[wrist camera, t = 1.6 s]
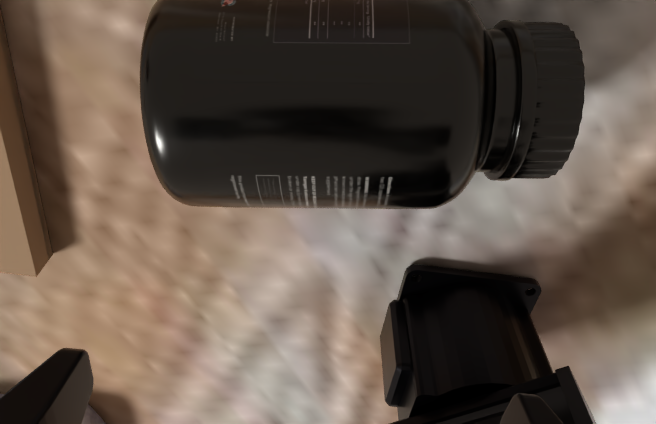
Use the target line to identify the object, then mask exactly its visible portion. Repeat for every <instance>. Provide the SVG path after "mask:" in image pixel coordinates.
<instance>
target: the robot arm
mask: <svg viewBox="0 0 656 424" xmlns="http://www.w3.org/2000/svg"><path fill="white" fill-rule="evenodd" d="M414 274H419V276H416V277H414V276H412V275H414ZM529 288H532V289H530V290H527V289H529ZM540 293H541V288H540V286H539V283H538V281H536V280H535V279H532V278H524V277H516V276H507V275H499V274H491V273H483V272H475V271H466V270H458V269H450V268H442V267H434V266H425V265H411V266H409V267H408V268H407V269H406V271H405V273H404V277H403V280H402V284H401V287H400V291H399V294H398V298H397V300H393V301H392V302H391V303H390V304H389V307H388V310H387V314H386V317H385V321H384V325H383V328H382V332H381V335H380V342H381V355H382V368H383V382H384V395H385V401H386V403H387V404H388V405H389V406H393V407H397V408H398V419H399V421H396V422H393V423H390V424H596V422H595V420H594V417H593V415H592V413H591V411H590V409H589V407H588V405H587V403H586V401H585V399H584V397H583V395H582V392H581V390H580V388H579V386H578V384H577V382H576V380H575V378H574V376H573V374H572V372H571V370H570V367H569V366H566V367H563V368H560V369H557V370H555V373H553V371H552V368H551V366H550V363H549V361H548V358H547V356H546V353H545V351H544V348H543V346H542V343H541V341H540V339H539V336H538V334H537V331H536V329H535V326H534V324H533V321H532V319H531V316H530V313H531V311H532V309H533V307H534V305H535V303H536V301H537V299H538V297H539V295H540ZM92 389H93V374H92V369H91V365H90V360H89V355H88V353H87V352H86V351H85V350H83V349H73V348H63V349H60V350H59V351H57V352H56V353H55V354H53V355H52V356H51V357H50V358H49V359H47V360H46V361H45V362H44V363H42V364H41V365H40V366H39V367H38V368H36V369H35V370H34V371H33V372H31V373H30V374H29V375H28V376H27V377H25V378H24V379H23V380H22V381H20V382H19V383H18V384H17V385H15V386H14V387H13V388H12V389H11V390H9V391H8V392H7V393H6V394H4V395H3V396H2V397H1V398H0V424H82V421H83V418H84V415H85V412H86V409H87V405H88V402H89V399H90V396H91V393H92Z"/></svg>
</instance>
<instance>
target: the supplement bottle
mask: <svg viewBox="0 0 656 424" xmlns="http://www.w3.org/2000/svg"><path fill="white" fill-rule="evenodd" d="M584 87H585V80H584V64H583V61H582V51H581V50H580V47H579V40H578V39H576V37H575V34H574V31H571V30H570V28H569V26H567V25H563V24H562V23H556V22H524V23H523V22H522V21H520V20H503V21H500V22H499V23H498V24H497V25H496V26H495V27H494V28H493V29H485V28H484V25H483V23H482V21H481V19H480V17H479V15H478V13H477V12H476V10H475V8H474V7H473V6H472V4H471V3H470V2H469V1H468V0H157V2H156V3H155V4H154V6H153V8H152V9H151V12H150V14H149V17H148V20H147V23H146V27H145V31H144V36H143V42H142V50H141V61H140V99H141V111H142V120H143V127H144V133H145V138H146V143H147V147H148V151H149V155H150V158H151V162H152V164H153V167H154V170H155V172H156V175H157V177H158V179H159V181H160V183H161V185H162V186H163V188H164V189H165V190H166V192H167V193H168V194H169V195H170V196H171V197H173V198H174V199H175V200H177V201H179V202H180V203H182V204H185V205H189V206H201V207H251V208H351V209H431V208H437V207H440V206H442V205H444V204H447V203H448V202H450V201H452V200H453V199H455V198H456V197H457V196H458V195H459V194H460V193H461V192H462V191H463V190H464V189H465V188H466V186H467V185H468V184H469V182H470V181H471V179H472V177H473V176H474V174H475V173H476V172H484V174H485V176H486V177H487V178H488V179H490V180H498V181H506V180H510V179H511V178H549V177H550V176H551V175H556V173H557V172H558V170H560V169H562V167H563V165H564V163H565V162H566V161H567V160H568V158H569V155H570V152H571V151H572V150H573V148H574V144H575V140H576V138H577V136H578V132H579V125H580V122H581V119H582V109H583V104H584Z"/></svg>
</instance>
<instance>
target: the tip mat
mask: <svg viewBox="0 0 656 424" xmlns="http://www.w3.org/2000/svg"><path fill="white" fill-rule="evenodd" d="M52 255H53V253H52V248H51V244H50V239H49V234H48V230H47V225H46V220H45V215H44V211H43V206H42V201H41V197H40V192H39V187H38V183H37V178H36V173H35V169H34V164H33V159H32V154H31V150H30V145H29V140H28V136H27V131H26V126H25V122H24V117H23V112H22V108H21V103H20V98H19V93H18V89H17V84H16V79H15V75H14V70H13V65H12V61H11V56H10V51H9V47H8V42H7V37H6V32H5V28H4V23H3V18H2V14H1V9H0V273H8V274H17V275H26V276H34V277H37V275H38V274H39V273H40V271H41V270H42V268H43V267H44V266H45V264H46V263H47V262H48V260H49V259H50V258H51V256H52Z"/></svg>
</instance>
